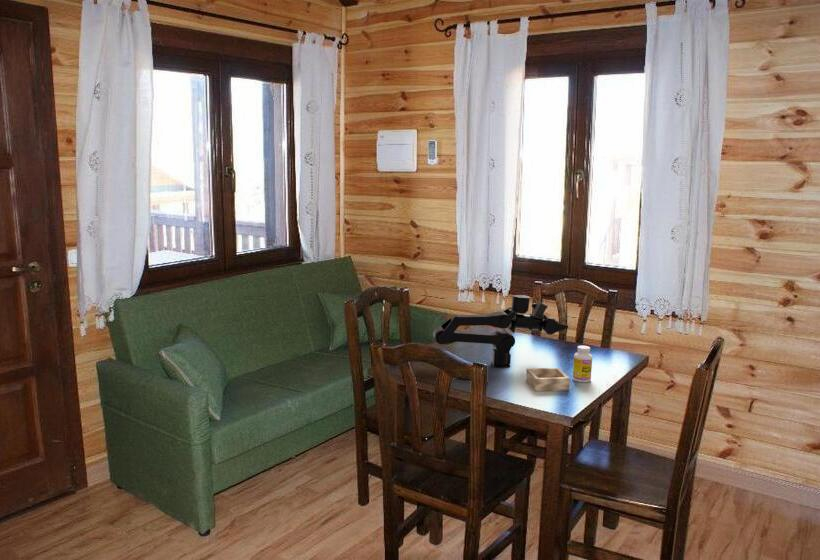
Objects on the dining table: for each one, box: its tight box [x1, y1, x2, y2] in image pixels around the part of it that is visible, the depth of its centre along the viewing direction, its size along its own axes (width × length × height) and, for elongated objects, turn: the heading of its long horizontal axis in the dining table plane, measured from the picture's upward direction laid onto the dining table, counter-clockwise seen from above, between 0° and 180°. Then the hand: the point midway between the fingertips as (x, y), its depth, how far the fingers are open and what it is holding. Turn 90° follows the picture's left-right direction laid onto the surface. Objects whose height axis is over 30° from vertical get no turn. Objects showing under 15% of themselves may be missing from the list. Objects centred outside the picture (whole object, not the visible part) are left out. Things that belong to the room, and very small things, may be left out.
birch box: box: [525, 367, 571, 392], centre depth 256 cm, size 12×12×5 cm
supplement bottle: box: [572, 345, 593, 383], centre depth 262 cm, size 7×7×13 cm
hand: (564, 325), depth 280 cm, fingers open, 9 cm apart
